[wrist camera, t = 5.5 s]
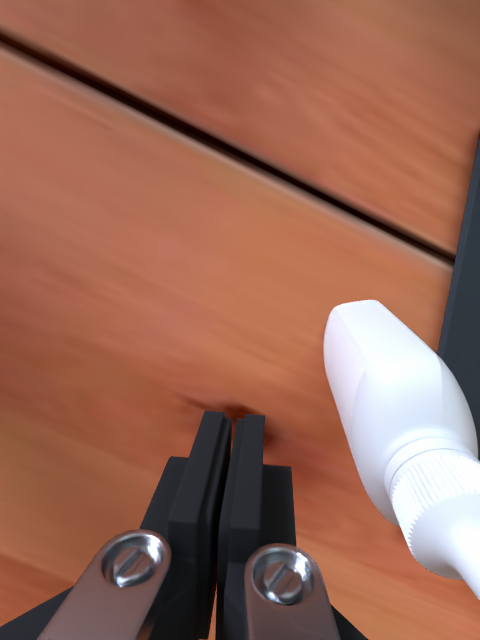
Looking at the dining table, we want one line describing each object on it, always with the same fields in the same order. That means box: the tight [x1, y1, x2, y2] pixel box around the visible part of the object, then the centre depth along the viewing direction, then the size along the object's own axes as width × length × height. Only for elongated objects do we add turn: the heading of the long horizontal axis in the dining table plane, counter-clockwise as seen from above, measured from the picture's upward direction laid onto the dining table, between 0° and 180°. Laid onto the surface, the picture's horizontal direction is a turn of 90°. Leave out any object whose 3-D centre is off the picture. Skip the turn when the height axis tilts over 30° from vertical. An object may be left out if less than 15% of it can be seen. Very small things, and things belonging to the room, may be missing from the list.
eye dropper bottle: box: [323, 300, 480, 600], centre depth 13 cm, size 4×6×12 cm
